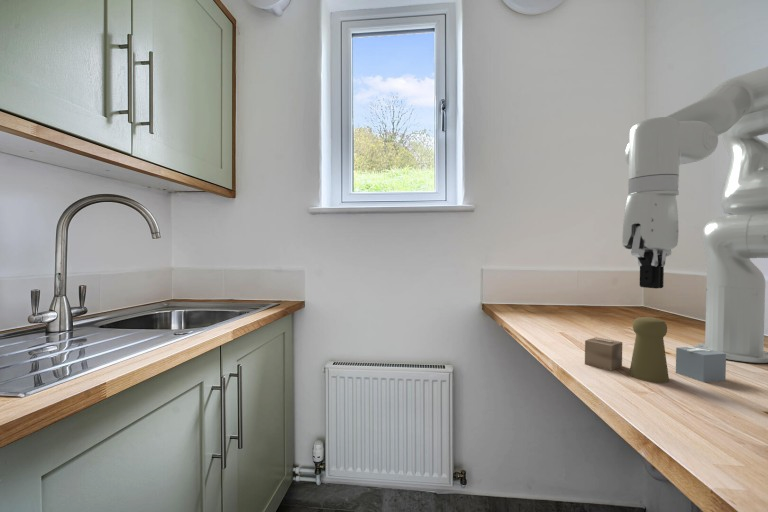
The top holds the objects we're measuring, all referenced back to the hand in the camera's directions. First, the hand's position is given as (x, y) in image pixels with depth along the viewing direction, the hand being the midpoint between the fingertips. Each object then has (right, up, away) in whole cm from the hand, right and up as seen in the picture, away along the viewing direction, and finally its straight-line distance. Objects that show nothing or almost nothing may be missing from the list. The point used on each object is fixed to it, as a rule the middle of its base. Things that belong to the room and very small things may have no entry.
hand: (651, 287), depth 67 cm
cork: (0, -17, 0) cm, 17 cm away
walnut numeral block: (-5, -17, +7) cm, 19 cm away
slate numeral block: (+9, -17, +1) cm, 19 cm away
